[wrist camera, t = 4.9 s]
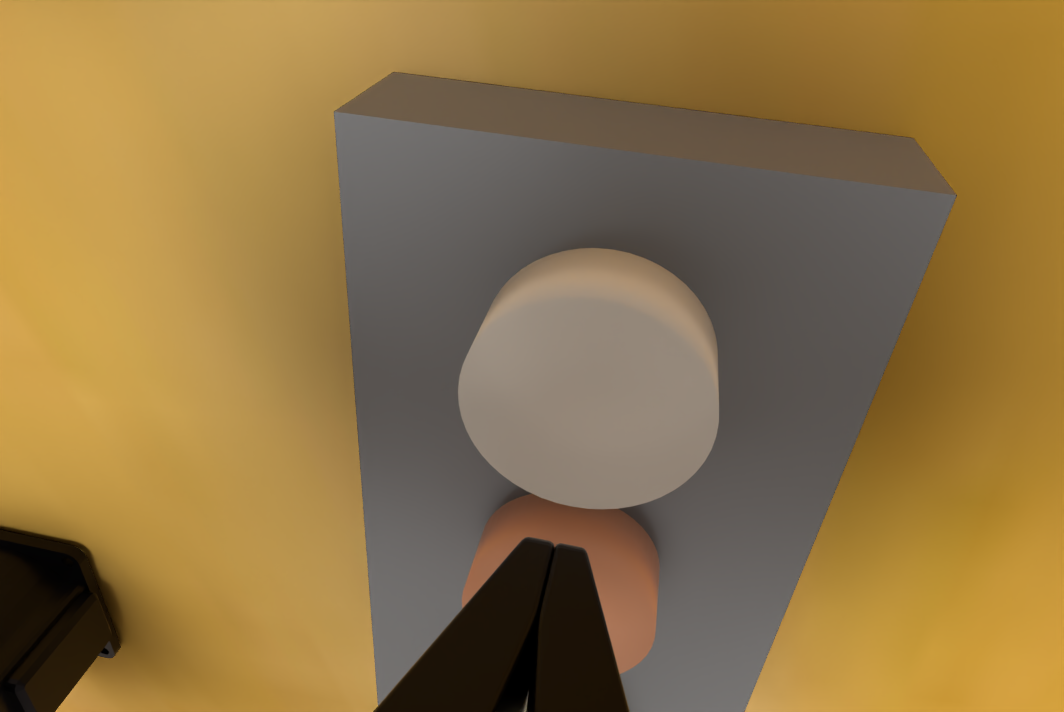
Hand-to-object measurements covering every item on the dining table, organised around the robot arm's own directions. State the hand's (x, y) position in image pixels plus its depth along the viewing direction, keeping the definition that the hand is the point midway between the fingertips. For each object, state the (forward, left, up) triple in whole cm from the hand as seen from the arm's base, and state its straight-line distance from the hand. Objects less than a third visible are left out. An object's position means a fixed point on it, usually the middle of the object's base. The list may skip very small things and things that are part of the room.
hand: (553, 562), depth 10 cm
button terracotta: (0, -6, -6) cm, 9 cm away
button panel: (0, -6, -10) cm, 11 cm away
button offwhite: (0, 0, -5) cm, 5 cm away
